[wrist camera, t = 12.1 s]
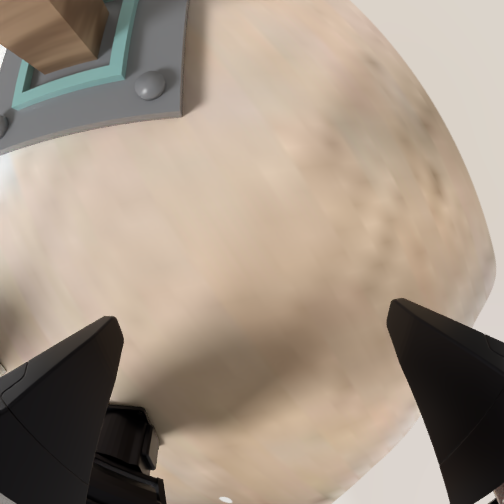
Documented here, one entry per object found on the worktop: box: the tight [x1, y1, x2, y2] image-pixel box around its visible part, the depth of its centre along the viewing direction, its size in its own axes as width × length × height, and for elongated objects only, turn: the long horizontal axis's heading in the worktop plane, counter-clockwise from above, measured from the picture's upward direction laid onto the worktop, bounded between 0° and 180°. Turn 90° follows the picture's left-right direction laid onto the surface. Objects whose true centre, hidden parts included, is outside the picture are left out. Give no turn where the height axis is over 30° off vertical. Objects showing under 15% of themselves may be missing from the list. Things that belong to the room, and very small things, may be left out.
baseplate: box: [0, 0, 189, 155], centre depth 13 cm, size 18×16×2 cm
